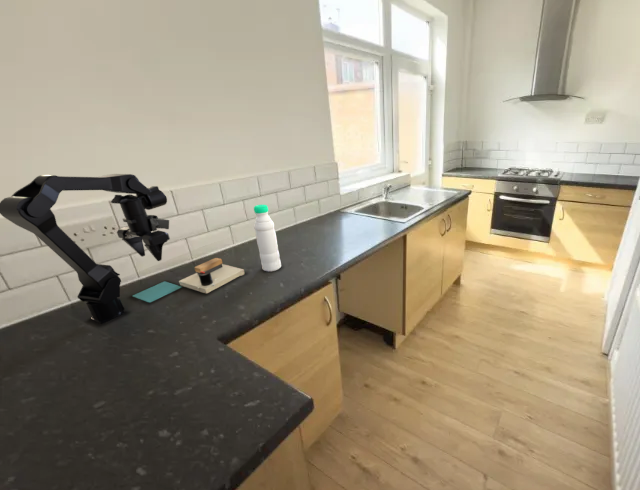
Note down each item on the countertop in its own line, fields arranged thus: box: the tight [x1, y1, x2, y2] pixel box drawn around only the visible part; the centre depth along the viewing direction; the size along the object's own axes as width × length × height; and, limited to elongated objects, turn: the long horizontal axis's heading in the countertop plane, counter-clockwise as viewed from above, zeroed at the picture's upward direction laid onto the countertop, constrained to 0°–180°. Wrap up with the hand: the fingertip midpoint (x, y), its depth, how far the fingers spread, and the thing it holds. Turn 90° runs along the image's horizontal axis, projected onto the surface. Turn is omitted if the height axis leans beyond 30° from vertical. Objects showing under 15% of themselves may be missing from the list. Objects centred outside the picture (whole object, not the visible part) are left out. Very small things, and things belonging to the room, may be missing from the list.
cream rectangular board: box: [178, 263, 246, 294], centre depth 115 cm, size 17×15×2 cm
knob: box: [198, 271, 213, 286], centre depth 108 cm, size 4×4×4 cm
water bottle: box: [253, 204, 282, 273], centre depth 118 cm, size 7×7×25 cm
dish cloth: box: [132, 280, 182, 304], centre depth 109 cm, size 11×10×1 cm
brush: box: [193, 257, 223, 274], centre depth 117 cm, size 9×3×3 cm, turn 154°
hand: (151, 258), depth 108 cm, fingers open, 9 cm apart
